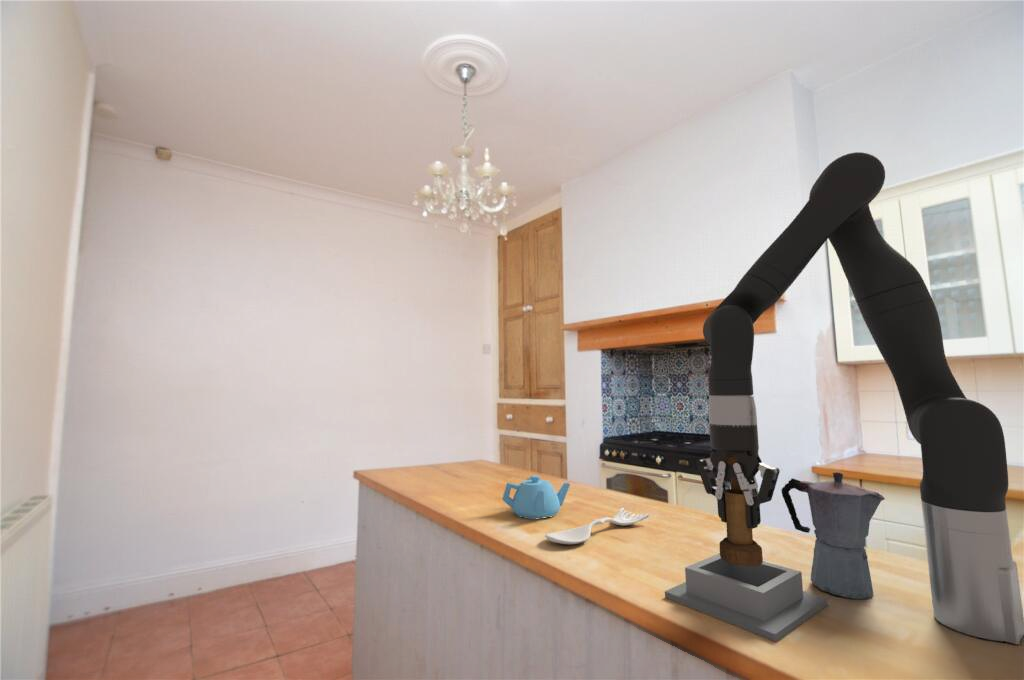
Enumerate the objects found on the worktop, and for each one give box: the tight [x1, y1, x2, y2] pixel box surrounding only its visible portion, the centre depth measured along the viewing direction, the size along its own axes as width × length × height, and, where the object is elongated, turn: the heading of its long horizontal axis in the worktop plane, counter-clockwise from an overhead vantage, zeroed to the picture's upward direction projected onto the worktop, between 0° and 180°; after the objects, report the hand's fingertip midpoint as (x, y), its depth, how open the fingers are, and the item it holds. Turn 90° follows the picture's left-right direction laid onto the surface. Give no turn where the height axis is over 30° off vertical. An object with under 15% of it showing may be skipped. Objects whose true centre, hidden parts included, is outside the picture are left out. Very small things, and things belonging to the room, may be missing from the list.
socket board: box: [664, 552, 828, 642], centre depth 78 cm, size 18×18×5 cm
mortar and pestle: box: [719, 453, 764, 566], centre depth 79 cm, size 7×6×18 cm
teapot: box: [502, 474, 571, 518], centre depth 135 cm, size 15×15×11 cm
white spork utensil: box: [544, 507, 650, 546], centre depth 115 cm, size 9×32×4 cm, turn 129°
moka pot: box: [780, 471, 886, 600], centre depth 82 cm, size 10×15×20 cm, turn 54°
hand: (739, 523), depth 79 cm, fingers closed on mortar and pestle, 4 cm apart
